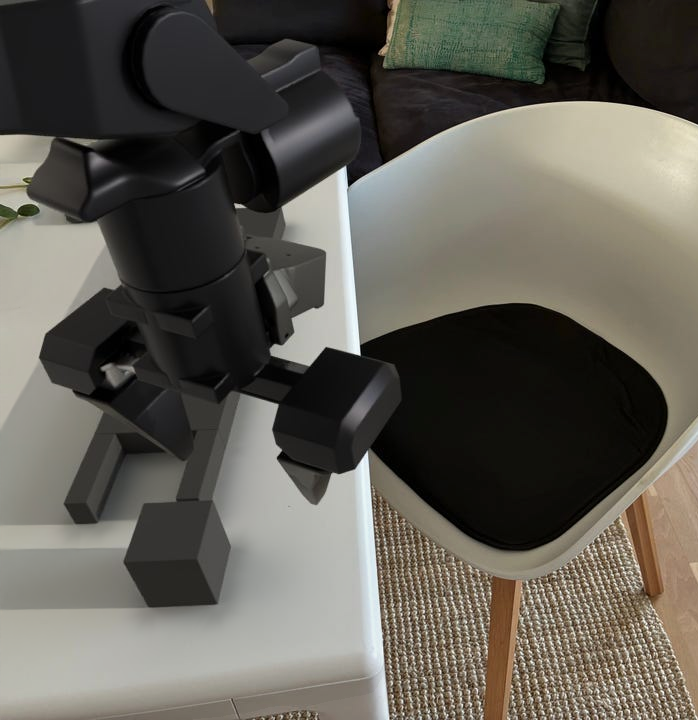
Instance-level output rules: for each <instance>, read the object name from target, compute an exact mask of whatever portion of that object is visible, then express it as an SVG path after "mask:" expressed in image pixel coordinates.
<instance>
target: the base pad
mask: <svg viewBox="0 0 698 720" xmlns="http://www.w3.org/2000/svg"><path fill="white" fill-rule="evenodd" d="M235 208H236V212H237V216H238V220H239V224H241V225H242V226H243V228H244V231H245V234H246V235H247V234H248V235H253V236H257V237H269V238H275V239H280V240H283V236H284V233H285V230H286V224H287V223H286V221H285V220H286V219H285V216H284V211H283V207H281V208H279V209H278V210H276V211H274V212H270V213H259V212H255V211H252V210H250V209H248V208H246V207H235ZM181 396H182V399H183V403H184V406H185V409H186V413H187V416H188V420H189V423H190V426H191V430H192V435H193V441H194V447H195V449H194V452H193V453H192V454H191V455H190V456H189V457H188V459H187V460H186V465H185V468H184V471H183V474H182V478H181V480H180V483H179V487H178V490H177V494H176V497H175V502H182V501H206V500H213V496H214V493H215V489H216V486H217V481H218V478H219V474H220V470H221V467H222V463H223V460H224V455H225V452H226V448H227V445H228V441H229V438H230V434H231V429H232V426H233V422H234V419H235V415H236V412H237V408H238V404H239V400H240V397H241V393H238V392H235V391H231V392H230V393H229V394H228V395H227V396H226V398H225V399H224V400H223V401H222V402H221V403H220V404H219V405H218V404H215V403H212V402H209V401H205V400H202V399H199V398H195V397H192V396H189V395H186V394H182V393H181ZM142 453H167V452H166V451H165V450H163V449H162V448H160V447H159V446H157V445H156V444H154V443H153V442H151V441H150V440H148V439H147V438H145V437H144V436H142V435H141V434H139V433H137V432H136V431H134V430H133V429H131V428H130V427H128V426H126V425H125V424H123V423H122V422H120V421H118V420H117V419H115V418H114V417H112V416H110V415H109V414H107V413H105V412H104V411H103V413H102V415H101V418H100V420H99V422H98V424H97V426H96V429H95V431H94V434H93V436H92V438H91V440H90V443H89V445H88V447H87V450H86V452H85V454H84V456H83V458H82V460H81V463H80V465H79V468H78V470H77V472H76V475H75V476H74V478H73V481H72V484H71V485H70V488H69V490H68V492H67V494H66V497H65V499H64V502H63V506H64V508H65V509H66V511H67V513H68V514H69V516H70V518H71V519H72V521H73V523H74V524H75V525H78V524H79V525H80V524H81V525H82V524H97V523H99V521H100V519H101V516H102V513H103V511H104V509H105V506H106V503H107V501H108V498H109V497H110V496H109V495H110V493H111V491H112V488H113V485H114V483H115V480H116V478H117V475H118V472H119V470H120V467H121V465H122V463H123V460H124V457H125V454H142Z"/></svg>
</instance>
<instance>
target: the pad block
mask: <svg viewBox="0 0 698 720" xmlns="http://www.w3.org/2000/svg"><path fill="white" fill-rule="evenodd" d="M229 540H230V539H229V538H228V535H227V533H226V530H225V526H224V524H223V522H222V519H221V517H220V515H219V512H218V510H217V507H216V503H215V502H214V500H213V499H212V500H206V501H182V502H177V501H162V502H161V501H160V502H144V503H143V504H142V507H141V510H140V513H139V516H138V519H137V522H136V524H135V527H134V530H133V532H132V536H131V539H130V541H129V544H128V547H127V550H126V553H125V556H124V559H123V565H124V567H125V568H126V570H127V572H128V574H129V576H130V577H131V579H132V581H133V582H134V585H135V586H136V588H137V589H138V591H139V593H140V595H141V597H142V598H143V600H144V602H145V604H146V606H147V607H148V608H160V607H183V606H202V605H203V606H207V605H218V603H219V600H220V596H221V592H222V587H223V583H224V579H225V574H226V570H227V566H228V560H229V557H230V552H231V548H232V545H231V542H230V541H229Z"/></svg>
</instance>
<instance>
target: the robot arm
mask: <svg viewBox="0 0 698 720" xmlns="http://www.w3.org/2000/svg"><path fill="white" fill-rule="evenodd" d="M360 120H361V119H360V117H359V115H358V114H356V113H355V111H354V108H353V105H352V103H351V101H350V100H349V98H348V96H347V94H346V93H345V91H344V90H343V89H342V88H341V86H340V85H339V84H338V82H337V81H336V80H335V79H334V78H333V77H332V76H331V75H329V74H328V73H327V72H326V71H325V70H324V69H322V65H321V57H320V50H319V47H317V45H315V44H311V43H307V42H302V41H297V40H294V39H290V38H283V39H282V40H280V41H278V42H275V43H273V44H271V45H270V46H268V47H267V48H266V49H265V50H263V51H262V52H261V53H260V54H258V55H256V56H255V57H252V58H250V59H248V60H246V59H245V58H244V57H243V56H242V55H241V54H240V53H239V52H238V51H237V50H236V49H235V48H234V47H233V46H232V45H231V43H229V42H228V41H227V40H226V39H225V38H224V37H223V36H222V35H221V34H220V33H219V30H218V25H217V21H216V20H215V17H214V15H213V14H212V11H211V9H210V7H209V4H208V3H207V1H206V0H0V136H37V137H51V138H52V140H51V142H50V147H49V151H48V154H47V156H46V158H45V160H44V161H43V162H42V163H41V164H40V165H39V167H37V168H36V170H35V172H34V173H33V175H32V177H31V179H30V181H29V183H28V184H27V186H26V189H25V190H26V191H25V192H26V195H27V197H28V198H29V199H30V200H31V201H33V202H36V203H38V204H40V205H42V206H45V207H48V208H49V209H52V210H54V211H57V212H59V213H61V214H63V215H64V214H66V215H68V216H71V217H73V218H75V219H78V220H80V222H83V223H85V224H90V223H91V224H92V223H94V222H96V221H97V222H96V223H97V224H98V226H99V230H100V232H101V235H102V237H103V239H104V242H105V245H106V247H107V250H108V253H109V255H110V258H111V260H112V263H113V265H114V268H115V271H116V273H117V277H118V278H119V281H120V285H118V286H117V287H116V288H115V289H112V288H109V287H108V288H107V287H102V288H101V289H100V290H99V291H98V292H96V293H95V294H94V295H92V296H91V297H90V298H89V299H87V300H86V301H84V302H83V303H82V304H81V305H79V307H77V308H76V309H75V310H73V311H71V313H69V314H68V315H67V316H66V317H64V318H63V319H62V320H61V321H59V322H58V323H57V324H56V325H55V326H53V327H52V328H51V329H49V330H48V331H47V332H46V333H44V337H43V341H42V345H41V347H40V351H39V355H38V360H39V362H40V363H41V365H42V368H44V371H45V373H46V375H47V377H48V379H49V380H50V382H51V384H54V385H57V386H60V387H63V388H66V389H69V390H71V391H72V394H73V395H74V396H75V397H76V398H78V399H79V400H83V401H84V402H88V403H89V404H91V405H92V406H94V407H95V408H97V409H99V410H101V411H103V413H104V412H105V413H107V414H109V415H110V416H112V417H114V418H115V419H117V420H118V421H120V422H122V423H123V424H125V425H126V426H128V427H130V428H131V429H133V430H134V431H136V432H137V433H139V434H141V435H142V436H144V437H145V438H147V439H148V440H150V441H151V442H153V443H154V444H156V445H157V446H159V447H160V448H162V449H163V450H165V451H166V452H165V453H167V454H169V455H171V456H172V457H174V458H175V459H177V460H178V461H181V462H186V461H188V458H189V456H190V455H191V454H192V453H193V452H194V449H195V447H194V441H193V435H192V430H191V426H190V423H189V420H188V416H187V413H186V409H185V406H184V403H183V399H182V396H181V393H182V394H186V395H189V396H192V397H195V398H199V399H202V400H205V401H209V402H212V403H215V404H218V405H219V404H220V403H221V402H222V401H223V400H224V399H225V398H226V396H227V395H228V394H229V393H230V392H231V391H235V392H238V393H240V395H241V394H242V395H246V396H248V397H252V398H255V399H259V400H261V401H265V402H267V403H268V402H269V403H272V404H275V405H277V409H276V413H275V416H274V419H273V424H272V429H271V432H272V434H273V439H274V442H275V445H276V447H278V448H279V449H281V451H280V452H279V454H278V455H277V456H276V460H277V462H278V463H279V465H280V466H281V468H282V469H283V470H284V472H285V473H286V474H287V476H288V477H289V478H290V480H291V481H292V482H293V484H294V485H295V488H297V490H298V491H299V493H300V494H301V495H302V496H303V497H304V498H305V500H307V502H308V503H309V504H311V505H312V506H318V505H319V504H320V502H321V500H323V498H324V496H325V495H326V493H327V490H328V487H329V483H330V480H331V477H332V474H337V475H342V474H346V473H348V472H352V471H355V470H356V469H357V468H358V466H359V465H360V463H361V462H362V460H363V459H364V457H365V456H366V454H367V453H368V451H369V450H370V449H371V447H372V445H373V444H374V442H375V441H376V439H377V438H378V436H379V435H380V433H381V432H382V430H383V429H384V427H385V426H386V424H387V423H388V421H389V420H390V418H391V417H392V415H393V414H394V412H395V411H396V409H397V408H398V406H399V405H400V403H402V400H403V397H402V389H401V379H400V378H401V377H400V376H399V372H398V370H397V368H396V366H395V364H394V363H390V362H386V361H383V360H379V359H375V358H371V357H368V356H364V355H359V354H356V353H352V352H348V351H345V350H342V349H339V348H333V347H329V346H325V347H324V348H323V350H322V351H321V352H320V353H319V354H318V356H317V357H316V358H315V359H314V360H313V361H312V363H311V364H310V365H306V364H303V363H300V362H296V361H292V360H288V359H285V358H282V357H278V356H275V355H272V354H271V348H273V346H274V345H277V346H284V345H285V344H286V343H287V341H288V340H289V339H290V338H291V337H292V336H293V335H294V334H295V327H294V323H293V319H294V318H296V317H297V316H299V315H302V314H304V313H306V312H308V311H310V310H312V309H315V310H319V309H320V308H322V307H323V306H324V305H325V296H326V295H325V292H326V272H327V271H326V269H327V268H326V267H327V251H326V250H324V249H322V248H319V247H314V246H310V245H305V244H301V243H298V242H294V241H289V240H284V239H282V240H280V239H275V238H269V237H257V236H253V235H248V234H247V235H246V234H245V231H244V228H243V226H242V225H241V224H239V220H238V216H237V212H236V208H237V207H236V205H241V206H243V207H244V208H248V209H250V210H252V211H255V212H259V213H270V212H274V211H276V210H278V209H279V208H281V207H282V208H283V207H284V206H286V205H287V204H289V203H291V202H293V200H295V199H296V198H298V197H300V196H301V195H303V194H304V193H306V192H307V191H309V190H311V189H312V188H314V187H316V186H317V185H318V184H320V183H322V182H323V181H324V180H326V179H329V177H331V176H333V175H334V174H335V173H338V171H341V170H342V169H343V168H345V167H347V166H348V165H350V163H352V162H353V161H354V160H355V159H356V157H357V156H358V154H359V151H360V148H361V144H362V127H361V121H360ZM71 139H77V140H92V141H93V140H94V142H91V143H90V144H87V145H85V144H82V143H80V142H76V141H74V140H71Z"/></svg>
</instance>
